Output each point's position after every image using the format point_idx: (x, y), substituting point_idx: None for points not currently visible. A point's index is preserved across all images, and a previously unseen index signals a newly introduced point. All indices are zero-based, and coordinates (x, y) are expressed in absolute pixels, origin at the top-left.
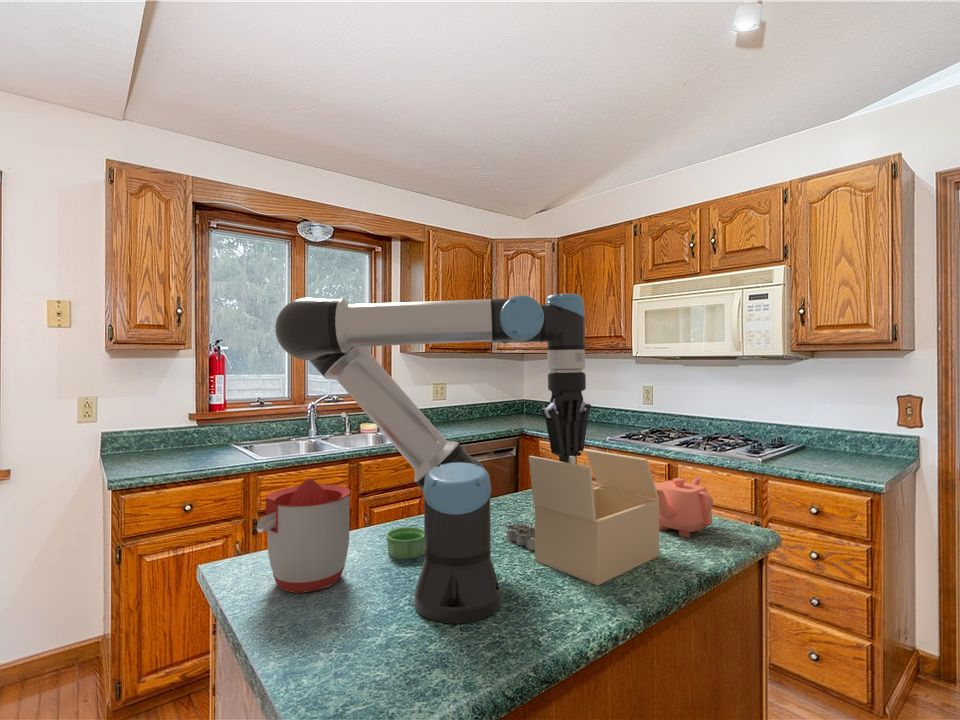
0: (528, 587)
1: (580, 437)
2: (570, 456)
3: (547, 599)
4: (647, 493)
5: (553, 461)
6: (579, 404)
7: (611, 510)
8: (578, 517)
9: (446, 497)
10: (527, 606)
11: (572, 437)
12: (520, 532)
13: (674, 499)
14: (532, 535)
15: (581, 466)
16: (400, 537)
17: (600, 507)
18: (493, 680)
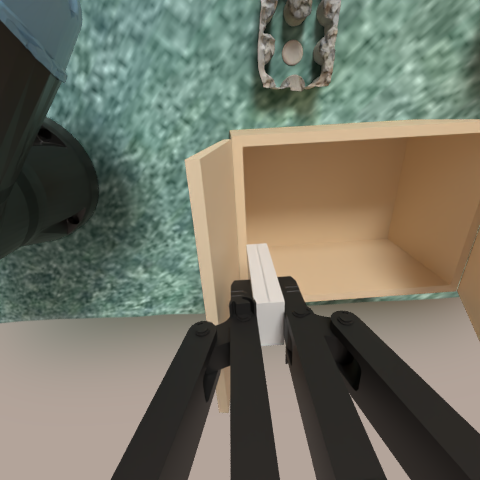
0: (154, 202)
1: (360, 401)
2: (268, 336)
3: (155, 241)
4: (466, 279)
5: (204, 300)
6: None
7: (446, 168)
8: (239, 268)
9: None
10: (120, 240)
11: (302, 409)
12: (287, 5)
13: None
14: (319, 17)
15: (217, 393)
16: None
17: (455, 135)
18: (19, 315)
